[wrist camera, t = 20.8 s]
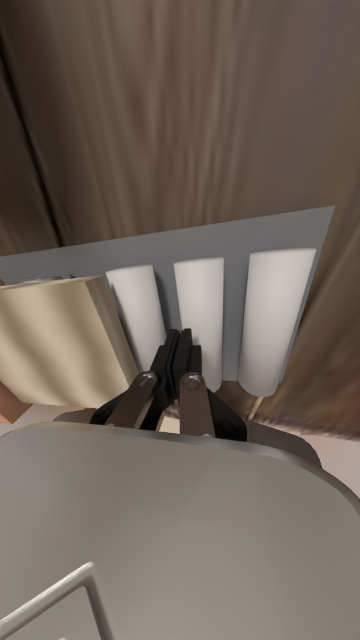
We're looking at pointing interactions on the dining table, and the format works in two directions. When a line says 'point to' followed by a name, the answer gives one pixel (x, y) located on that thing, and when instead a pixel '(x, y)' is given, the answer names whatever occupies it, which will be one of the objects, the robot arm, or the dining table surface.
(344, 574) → the robot arm
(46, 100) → the dining table surface
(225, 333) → the roller bed
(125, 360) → the slab
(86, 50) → the dining table surface
